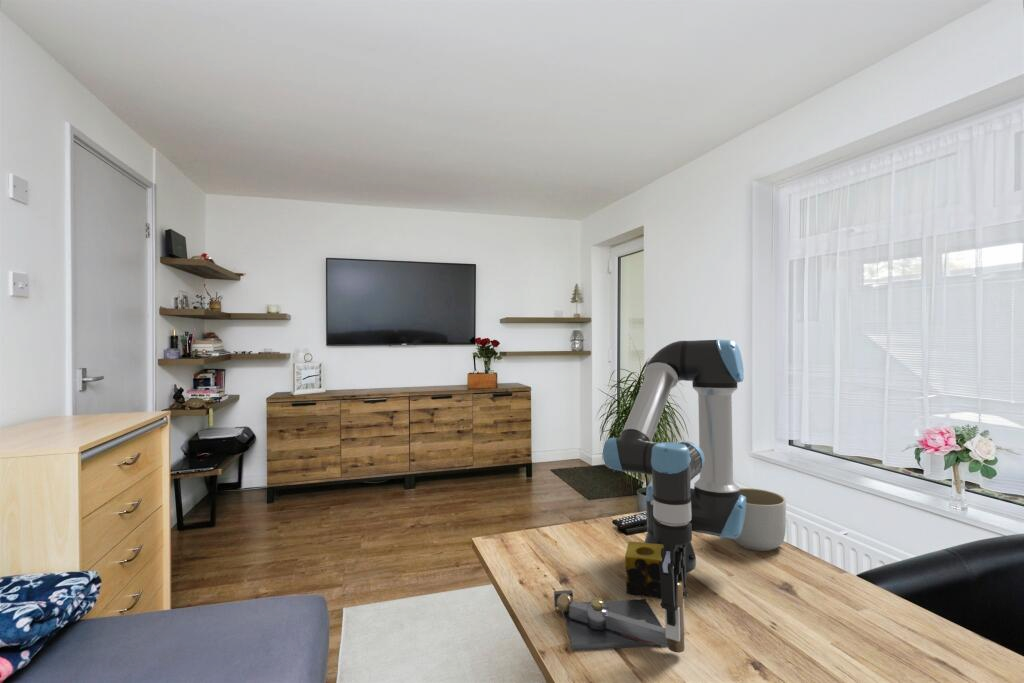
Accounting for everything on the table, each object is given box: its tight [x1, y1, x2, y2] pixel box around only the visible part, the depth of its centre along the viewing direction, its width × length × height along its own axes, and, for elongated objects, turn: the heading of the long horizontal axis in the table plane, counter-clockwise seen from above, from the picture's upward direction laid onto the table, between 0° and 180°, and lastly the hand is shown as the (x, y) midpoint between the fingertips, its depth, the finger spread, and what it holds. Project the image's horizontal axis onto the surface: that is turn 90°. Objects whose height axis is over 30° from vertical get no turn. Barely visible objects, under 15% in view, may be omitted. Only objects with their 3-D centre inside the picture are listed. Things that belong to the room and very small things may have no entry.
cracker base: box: [553, 589, 663, 652], centre depth 107 cm, size 23×17×7 cm
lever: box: [569, 580, 686, 653], centre depth 103 cm, size 25×5×13 cm, turn 58°
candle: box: [624, 541, 664, 600], centre depth 124 cm, size 10×10×10 cm
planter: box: [732, 487, 787, 552], centre depth 148 cm, size 17×17×15 cm
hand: (675, 632), depth 97 cm, fingers closed on lever, 3 cm apart
